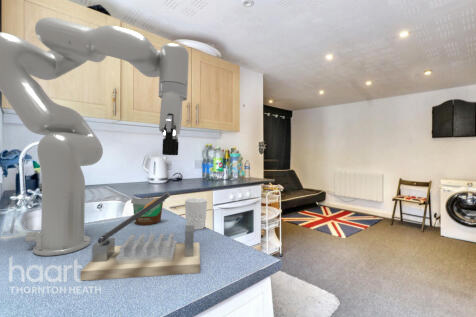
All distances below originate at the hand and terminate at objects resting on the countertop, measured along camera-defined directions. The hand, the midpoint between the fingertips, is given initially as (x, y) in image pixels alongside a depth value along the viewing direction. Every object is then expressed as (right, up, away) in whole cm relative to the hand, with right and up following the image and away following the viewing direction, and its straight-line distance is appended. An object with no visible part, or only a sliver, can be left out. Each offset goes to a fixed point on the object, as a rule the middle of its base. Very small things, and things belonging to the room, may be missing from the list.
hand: (170, 155), depth 63 cm
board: (-3, -26, -8) cm, 27 cm away
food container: (-16, -26, +23) cm, 38 cm away
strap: (-5, -15, -8) cm, 18 cm away
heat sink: (-3, -24, -8) cm, 26 cm away
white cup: (+3, -26, +21) cm, 34 cm away
